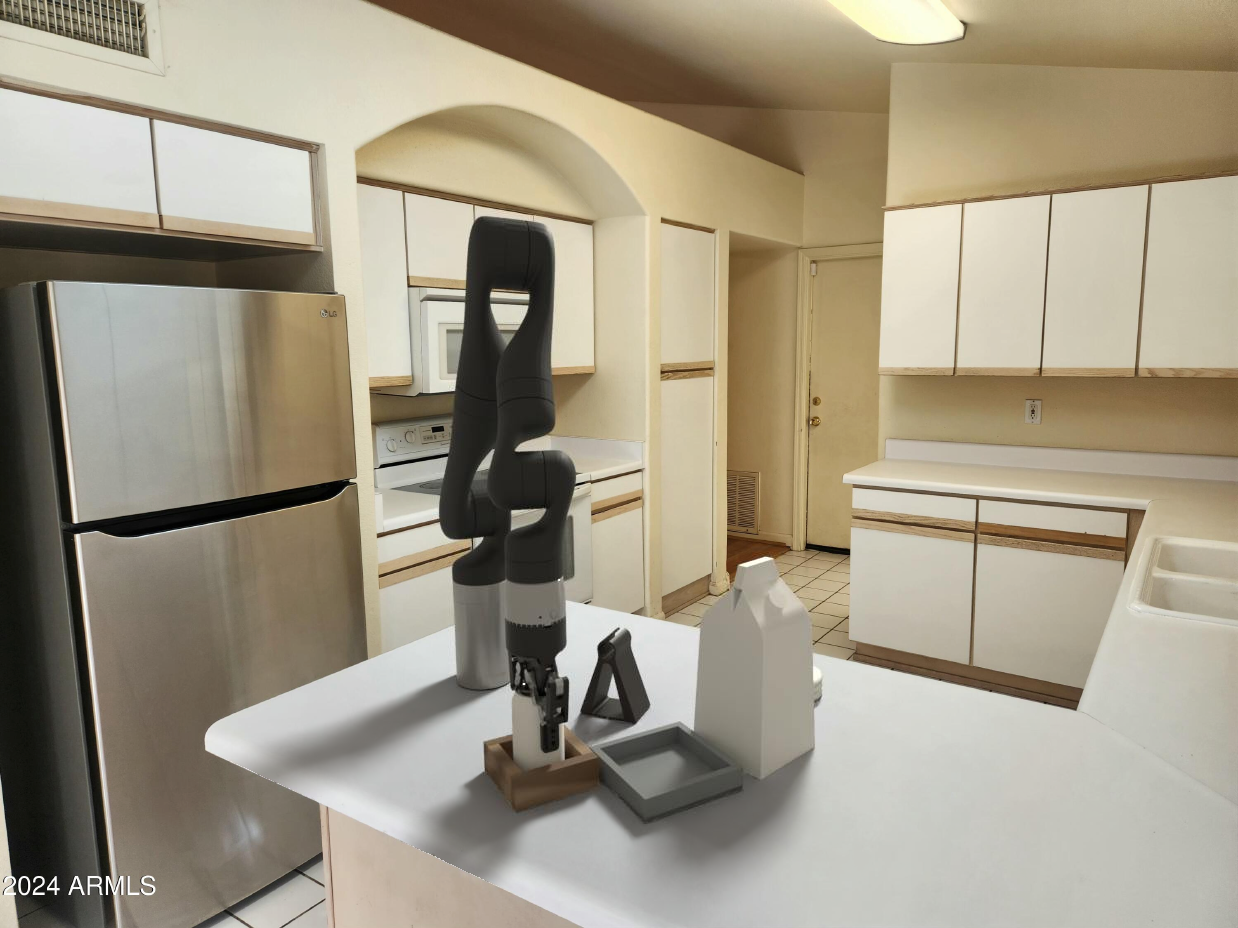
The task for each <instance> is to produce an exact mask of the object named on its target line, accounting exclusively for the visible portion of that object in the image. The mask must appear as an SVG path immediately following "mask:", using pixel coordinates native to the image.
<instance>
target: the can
mask: <svg viewBox="0 0 1238 928" xmlns="http://www.w3.org/2000/svg"><path fill="white" fill-rule="evenodd" d="M523 683H525V682H524V681H523ZM538 696H539V697H540V698H546V693H545V694H540V695H538ZM531 698H532V697H531V694H530V689H528V688H527V687H526V686H525V684H524V685H523V686H520V687H519V686H518V684H517V685H516V686H515V690H514V694H513V696H512V698H511V725H512V728H511V729H512V730H511V731H512V733H511V734H513V761H514V763H515V764H516V765H517V766H518V767H519V769H520V770H521V771H522V772H524V771H528V770H531V769H535V768H538V767H542V766H545V765H549V764H552V763H556V762H559V761H563V760H565V758H564V725H565V723H562V724H559V749H558V750H556V751H553V752H549V753H544V752H543V751H542V750H541V743H540V718H539V713H538V708H537V707H535V706H534V705H533V703H532V699H531ZM544 707H545V712H546V704H545V705H544ZM560 710H561V708H560Z"/></svg>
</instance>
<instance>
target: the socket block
mask: <svg viewBox="0 0 1238 928" xmlns="http://www.w3.org/2000/svg"><path fill="white" fill-rule="evenodd" d="M482 742H483V762H484V763H483V766H484V772H485V773H486V774H487V776H488V777H489V778H490V780H491V782H493V784H494V785H495V787H496V788H497V789H498V791H499V792H500V793H501V794H502V796H503V797H504V799H506V801H507V802H508V804H509V805H510V806H511V807H512V808H513V810H514V812H515V813H516V814H517V813H520V812H523V811H526V810H530V809H533V808H536V807H539V806H542V805H546V804H549V803H552V802H556V801H559V800H563V799H565V798H569V797H572V796H575V795H577V794H582V793H585V792H588V791H591V790H594V789H597V788H600V778H599V757H598V756H597V755H596V754H595V753H594V752H593V751H592V750H591V749H590V748H589V747H588V745H587V744H585V743H584V742H583V740H581V739H580V738H579V737H578V736H577V735H576V734H575V733H574V732H573V731H572V730H571V729H570V728H568V727H567V726H566V724H564V758H565V760H563V761H559V762H556V763H552V764H549V765H545V766H542V767H538V768H535V769H531V770H528V771H524V772H522V771H521V770H520V769H519V767H518V766H517V765H516V764H515V763H514V761H513V733H511V734H507V735H504V736H500V737H496V738H492V739H489V740H484V741H482Z"/></svg>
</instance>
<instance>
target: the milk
mask: <svg viewBox="0 0 1238 928" xmlns="http://www.w3.org/2000/svg"><path fill="white" fill-rule="evenodd" d="M812 622H813V620H812V616H811V614H810V612H809V611H808V609H807V608H806V606H805V605H804V604H803V602H802V601H801V600H800V599H799V598H798V596H797V595H796V594H795V593H794V592H793V591H792V590H791V588H790V587H789V586H788V585H787V583H786V582H785V581H784V580H783V579H782V578H781V577H780V573H779V570H778V567H777V564H776V562H775V558H773V557H769V556H763V557H760V558H757V559H753V560H750V561H747V562H744V563H739V564H737V569H736V572H735V577H734V582H733V585H732V588H731V589H729V590H728V591H727V592H726V593H725V594H723V596H721V597H720V598H718V600H717V601H715V602H714V603H713V604H712V605H710V607H709V608H707V609H706V610H705V612H704V613H703V615H702V616H701V619H700V626H699V640H698V641H699V642H698V643H699V644H698V654H697V655H698V658H697V670H696V671H697V672H696V675H697V676H696V689H695V704H694V705H695V706H694V719H693V721H694V722H693V731H694V732H695V733H697V734H698V735H699V736H701V737H702V738H704V739H705V740H706V741H708V742H709V743H710V744H712V745H713V746H715V747H716V748H717V749H719V750H720V751H721V752H723V753H724V754H726V755H727V756H728V757H730V758H731V759H732V760H734V761H735V762H737V763H738V764H739V765H741V766H742V767H743V773H745V774H748V775H750V776H752V777H754V778H756V779H758V780H763V779H764V778H766V777H767V776H769V775H771V774H772V773H774V772H776V771H777V770H779V769H781V768H782V767H784V766H787V764H789V763H790V762H793V761H794V760H796V759H797V758H798V757H800V756H803V755H804V754H805V753H807V752H809V751H810V750H813V749H814V748H815V747H816V734H815V733H816V731H815V729H816V728H815V701H814V683H813V666H814V654H813V653H814V651H813V649H814V648H813V623H812Z"/></svg>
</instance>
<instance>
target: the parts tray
mask: <svg viewBox="0 0 1238 928" xmlns="http://www.w3.org/2000/svg"><path fill="white" fill-rule="evenodd" d="M588 748H590V749H591V750H592V751H593V752H594V753H595V754H596V755H597V756H598V757H599V780H601V781H602V782H603V783H604V784H605V785H606V787H608V788H609V789H610V790H611V791H612V792H613V793H614V794H615V796H617V798H619V799H620V800H621V801H622V802H623V803H624V804H625V805H626V806H627V807H628V808H629V809H630V811H632V813H634V814H635V815H636V816H637V817H638V818H639V819H640V820H641V821H642V822H643V823H644V824H648V823H651V822H654V821H657V820H660V819H662V818H666V817H668V816H671V815H675V814H677V813H679V812H683V811H685V810H689V809H691V808H694V807H697V806H698V807H699V806H700V805H703V804H706V803H710V802H711V801H715V800H717V799H720V798H723V797H726V796H729V795H732V794H735V793H737V792H741V791H743V790H744V787H743V786H744V784H743V783H744V774H743V773H744V771H743V767H742V766H741V765H739V764H738V763H737V762H735V761H734V760H732V759H731V758H730V757H728V756H727V755H726V754H724V753H723V752H721V751H720V750H719V749H717V748H716V747H715V746H713V745H712V744H710V743H709V742H708V741H706V740H705V739H704V738H702V737H701V736H699V735H698V734H697V733H695V732H694V729H691V728H690V727H689V726H688V725H686V724H685V723H683V722H682V721H677V722H673V723H669V724H666V725H663V726H659V727H655V728H651V729H648V730H645V731H641V732H637V733H634V734H630V735H627V736H623V737H619V738H617V739H611V740H609V741H606V742H602V743H597V744H596V745H591V746H589V747H588Z"/></svg>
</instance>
